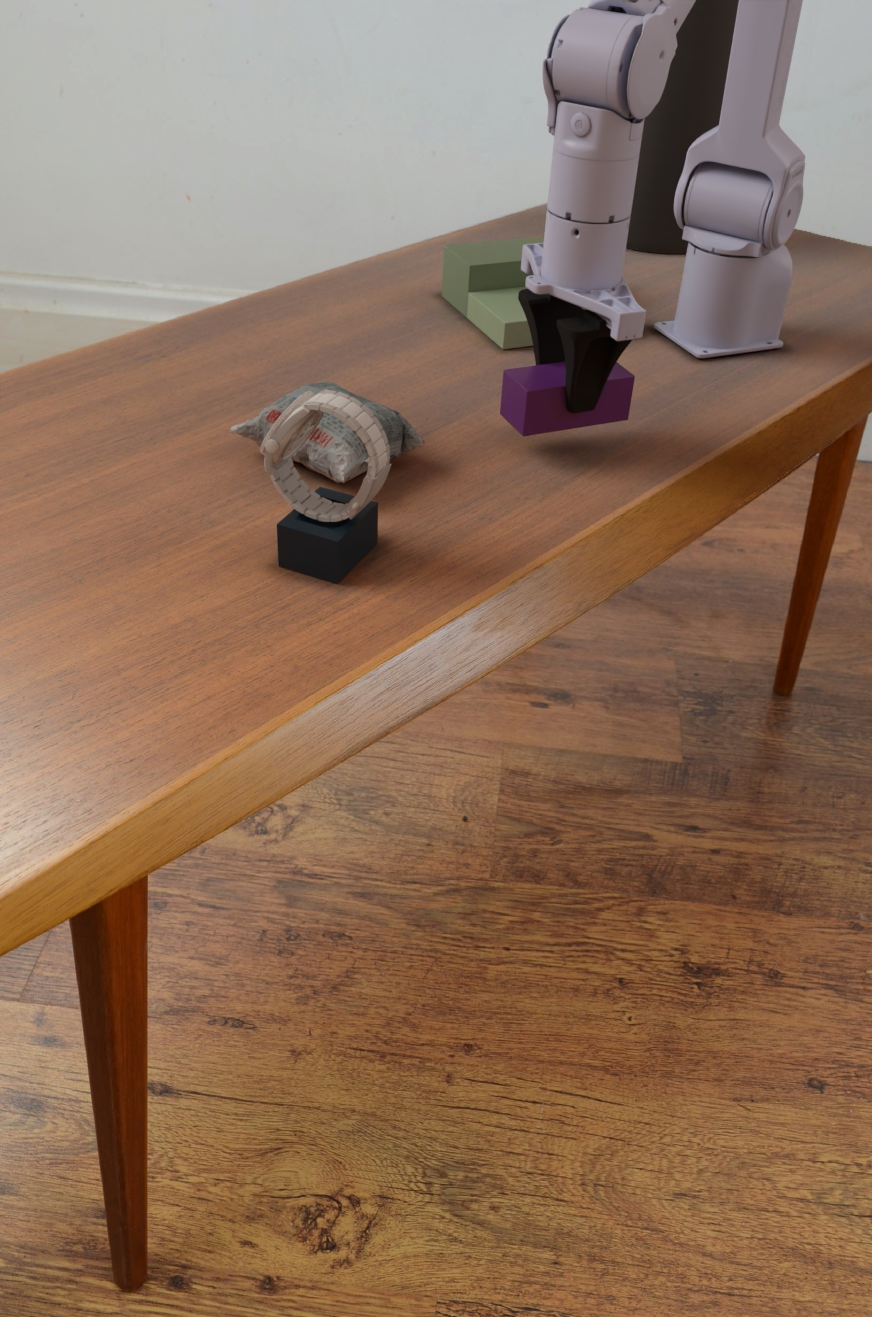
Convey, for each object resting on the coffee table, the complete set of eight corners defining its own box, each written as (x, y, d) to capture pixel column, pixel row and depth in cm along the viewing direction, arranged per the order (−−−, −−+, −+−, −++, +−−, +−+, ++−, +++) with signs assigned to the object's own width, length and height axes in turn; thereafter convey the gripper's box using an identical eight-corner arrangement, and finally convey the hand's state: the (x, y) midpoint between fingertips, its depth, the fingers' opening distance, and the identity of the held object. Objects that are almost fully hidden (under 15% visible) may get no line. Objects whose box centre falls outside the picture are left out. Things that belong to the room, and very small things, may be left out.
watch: (295, 520, 78) (290, 367, 72) (401, 550, 76) (406, 394, 69) (251, 558, 74) (241, 400, 68) (362, 592, 72) (363, 431, 65)
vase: (593, 246, 128) (632, -58, 111) (600, 212, 139) (636, -71, 121) (717, 259, 127) (776, -48, 109) (714, 222, 137) (767, -62, 120)
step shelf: (566, 282, 118) (571, 233, 115) (636, 332, 108) (644, 280, 105) (441, 296, 114) (443, 244, 111) (502, 349, 104) (507, 295, 101)
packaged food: (343, 510, 80) (344, 445, 77) (229, 453, 85) (225, 390, 83) (426, 469, 85) (429, 407, 82) (313, 418, 91) (312, 359, 88)
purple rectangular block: (602, 398, 90) (608, 354, 88) (628, 420, 88) (635, 375, 85) (499, 413, 87) (503, 369, 85) (522, 436, 85) (527, 391, 82)
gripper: (490, 185, 82) (477, 365, 90) (589, 250, 72) (564, 447, 80) (577, 178, 84) (557, 355, 93) (685, 240, 74) (651, 432, 82)
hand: (566, 397), depth 87 cm, fingers closed on purple rectangular block, 4 cm apart
